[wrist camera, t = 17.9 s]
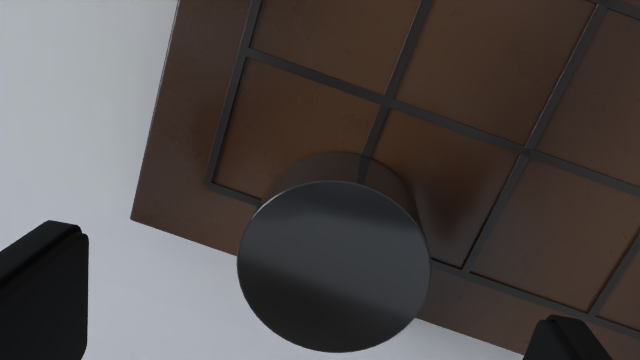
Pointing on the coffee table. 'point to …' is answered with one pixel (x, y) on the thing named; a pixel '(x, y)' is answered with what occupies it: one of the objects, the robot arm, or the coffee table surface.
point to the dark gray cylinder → (335, 254)
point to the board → (425, 141)
